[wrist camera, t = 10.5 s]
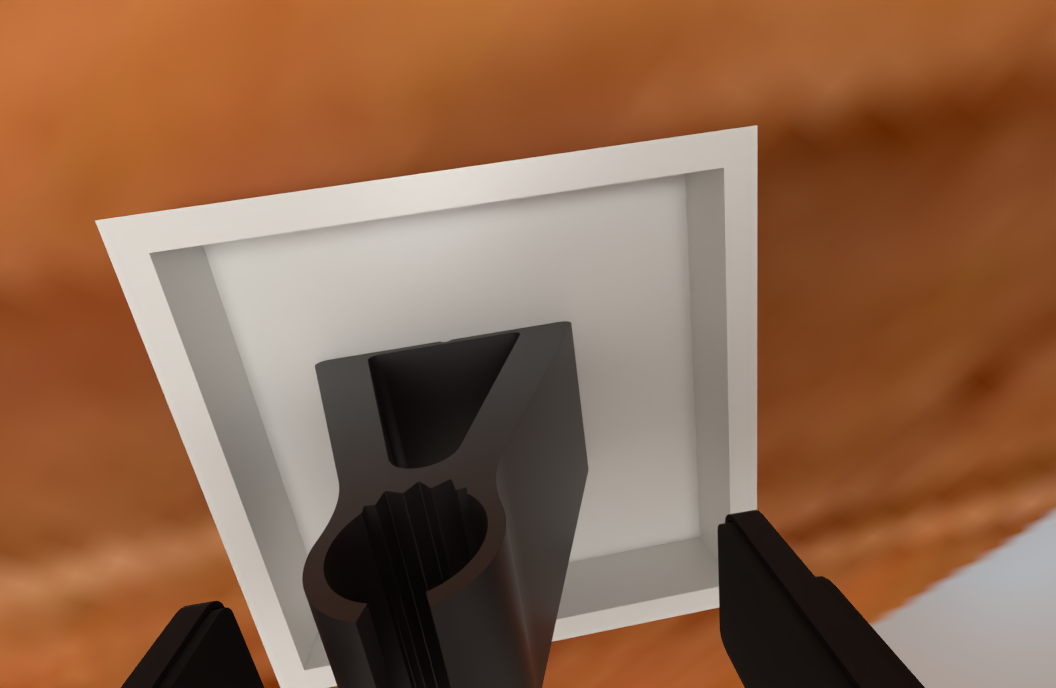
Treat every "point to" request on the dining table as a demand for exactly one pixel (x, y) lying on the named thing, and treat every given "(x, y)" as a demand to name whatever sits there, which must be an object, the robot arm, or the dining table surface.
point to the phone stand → (449, 510)
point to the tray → (462, 311)
